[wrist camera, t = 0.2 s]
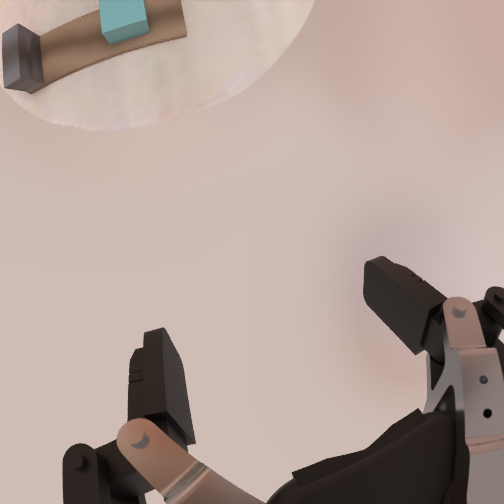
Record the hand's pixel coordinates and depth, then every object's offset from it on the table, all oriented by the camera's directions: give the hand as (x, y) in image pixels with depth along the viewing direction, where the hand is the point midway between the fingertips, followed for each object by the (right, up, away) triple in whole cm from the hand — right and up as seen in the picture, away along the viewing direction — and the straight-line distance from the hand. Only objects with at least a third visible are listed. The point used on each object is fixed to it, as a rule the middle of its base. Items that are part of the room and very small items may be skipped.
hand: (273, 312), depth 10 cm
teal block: (-16, +30, +13) cm, 37 cm away
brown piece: (-20, +30, +13) cm, 38 cm away
